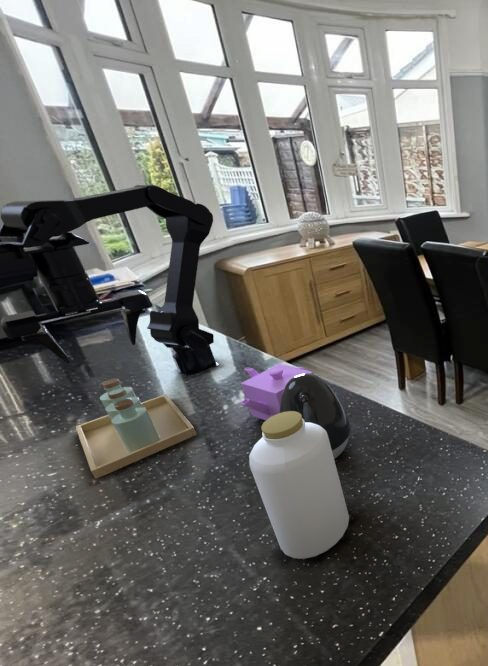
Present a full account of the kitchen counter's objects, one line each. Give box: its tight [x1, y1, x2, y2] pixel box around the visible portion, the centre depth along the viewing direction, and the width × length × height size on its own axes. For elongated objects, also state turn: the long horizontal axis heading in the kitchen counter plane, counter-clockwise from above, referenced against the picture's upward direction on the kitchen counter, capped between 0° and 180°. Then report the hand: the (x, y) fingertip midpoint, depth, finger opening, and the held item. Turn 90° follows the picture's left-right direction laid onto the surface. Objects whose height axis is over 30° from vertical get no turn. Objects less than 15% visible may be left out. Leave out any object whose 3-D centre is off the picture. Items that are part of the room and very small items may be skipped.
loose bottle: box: [111, 399, 161, 454], centre depth 66 cm, size 4×4×9 cm
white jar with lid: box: [248, 411, 350, 560], centre depth 48 cm, size 8×8×18 cm
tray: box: [75, 393, 198, 479], centre depth 71 cm, size 13×18×2 cm
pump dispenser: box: [279, 373, 352, 460], centre depth 62 cm, size 10×10×15 cm
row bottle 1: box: [99, 377, 137, 410], centre depth 72 cm, size 4×4×9 cm
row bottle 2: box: [104, 388, 143, 421], centre depth 69 cm, size 4×4×9 cm
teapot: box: [240, 363, 315, 421], centre depth 73 cm, size 18×13×10 cm
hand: (102, 352), depth 76 cm, fingers open, 9 cm apart
